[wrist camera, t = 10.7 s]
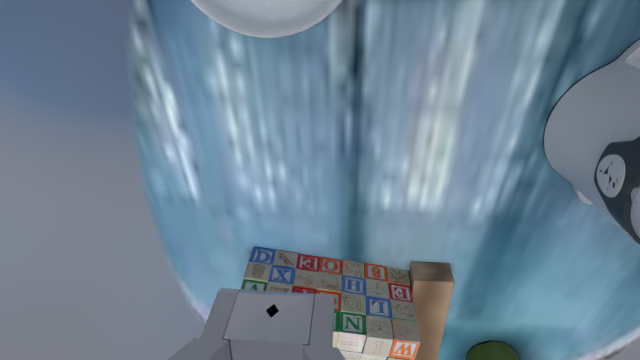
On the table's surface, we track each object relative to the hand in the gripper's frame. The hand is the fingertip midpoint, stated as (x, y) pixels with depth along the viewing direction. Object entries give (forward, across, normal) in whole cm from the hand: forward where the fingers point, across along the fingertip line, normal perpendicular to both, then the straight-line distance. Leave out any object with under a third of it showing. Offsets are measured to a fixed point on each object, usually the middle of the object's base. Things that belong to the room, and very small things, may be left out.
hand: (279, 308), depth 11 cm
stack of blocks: (+37, 0, +33) cm, 50 cm away
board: (+37, -13, +40) cm, 56 cm away
